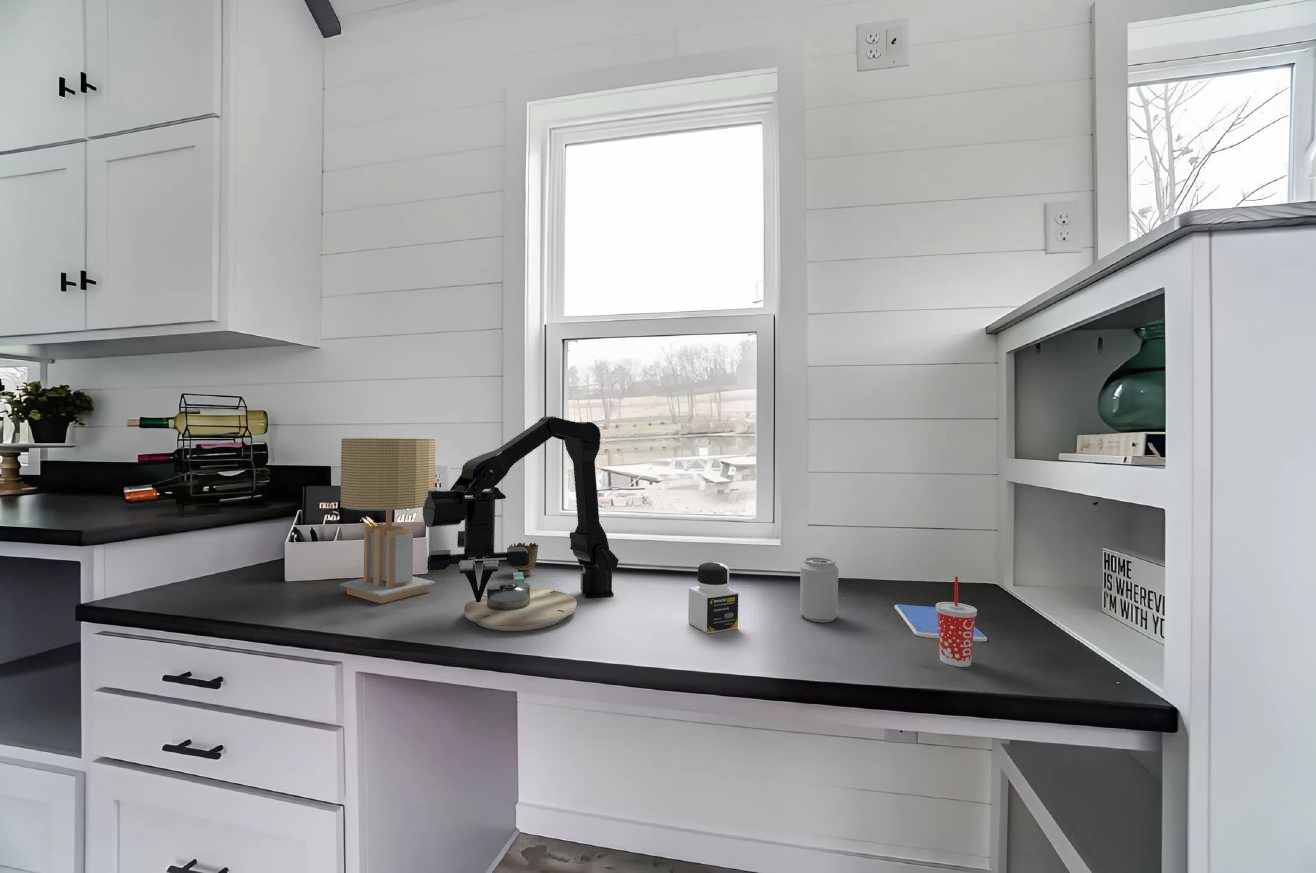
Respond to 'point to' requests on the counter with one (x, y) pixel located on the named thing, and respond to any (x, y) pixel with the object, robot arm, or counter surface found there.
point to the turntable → (539, 611)
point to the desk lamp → (387, 509)
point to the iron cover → (508, 596)
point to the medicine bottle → (713, 600)
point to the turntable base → (520, 628)
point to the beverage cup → (956, 631)
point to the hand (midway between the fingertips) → (478, 601)
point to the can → (819, 589)
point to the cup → (532, 555)
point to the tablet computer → (927, 621)
